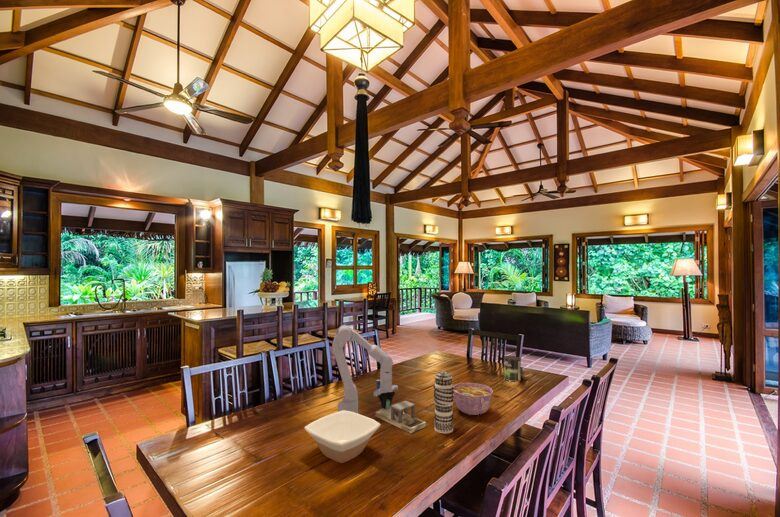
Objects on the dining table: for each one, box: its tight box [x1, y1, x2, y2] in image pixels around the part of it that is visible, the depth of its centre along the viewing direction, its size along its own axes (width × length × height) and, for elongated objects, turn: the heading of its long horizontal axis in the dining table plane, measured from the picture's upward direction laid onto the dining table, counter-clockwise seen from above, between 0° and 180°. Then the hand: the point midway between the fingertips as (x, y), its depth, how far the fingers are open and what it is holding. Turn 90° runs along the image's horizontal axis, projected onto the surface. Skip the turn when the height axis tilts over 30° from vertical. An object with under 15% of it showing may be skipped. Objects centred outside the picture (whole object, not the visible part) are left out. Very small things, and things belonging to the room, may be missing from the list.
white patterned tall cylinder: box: [433, 371, 455, 435], centre depth 159 cm, size 9×9×25 cm
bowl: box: [304, 410, 381, 464], centre depth 139 cm, size 24×25×11 cm
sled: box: [379, 399, 410, 420], centre depth 169 cm, size 6×14×5 cm, turn 42°
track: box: [375, 400, 427, 434], centre depth 166 cm, size 10×24×8 cm, turn 42°
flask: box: [375, 379, 380, 398], centre depth 198 cm, size 9×3×11 cm, turn 65°
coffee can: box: [503, 355, 521, 382], centre depth 229 cm, size 10×10×14 cm
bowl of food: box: [452, 382, 494, 416], centre depth 177 cm, size 20×20×12 cm
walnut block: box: [390, 402, 404, 416], centre depth 168 cm, size 4×4×4 cm
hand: (386, 407), depth 174 cm, fingers closed on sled, 2 cm apart
